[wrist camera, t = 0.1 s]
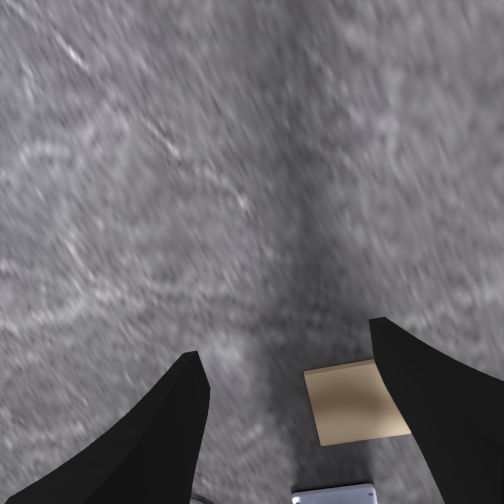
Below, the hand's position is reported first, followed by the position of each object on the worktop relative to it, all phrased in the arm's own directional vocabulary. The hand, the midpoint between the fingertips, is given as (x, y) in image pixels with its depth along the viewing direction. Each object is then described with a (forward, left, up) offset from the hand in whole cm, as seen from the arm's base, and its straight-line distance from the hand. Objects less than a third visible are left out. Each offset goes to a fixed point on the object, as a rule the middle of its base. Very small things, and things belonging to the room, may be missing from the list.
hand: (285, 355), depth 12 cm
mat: (-14, -4, -10) cm, 18 cm away
